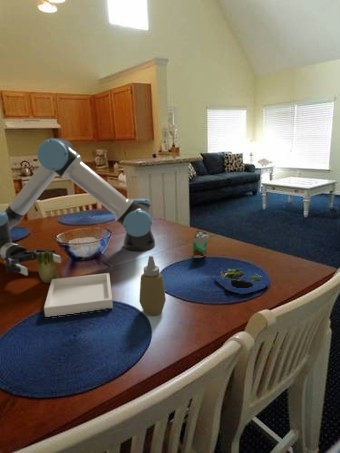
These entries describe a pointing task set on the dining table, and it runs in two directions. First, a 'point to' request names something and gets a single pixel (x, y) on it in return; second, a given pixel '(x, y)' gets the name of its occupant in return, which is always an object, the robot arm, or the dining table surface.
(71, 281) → the bin
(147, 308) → the squeeze bottle
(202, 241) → the food container
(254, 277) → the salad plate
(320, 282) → the dining table surface
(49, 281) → the fennel bulb
